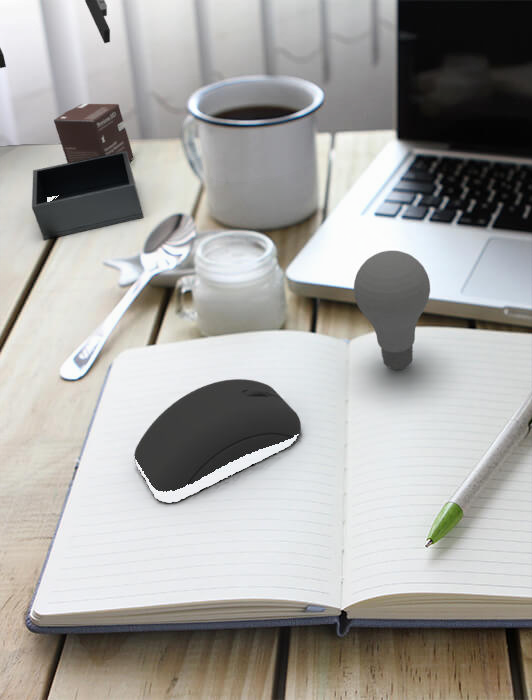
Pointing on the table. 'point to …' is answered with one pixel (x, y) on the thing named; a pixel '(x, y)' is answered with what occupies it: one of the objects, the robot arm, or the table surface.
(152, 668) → the table surface
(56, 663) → the table surface
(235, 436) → the computer mouse
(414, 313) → the light bulb
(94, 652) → the table surface
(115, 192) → the dark grey open tray
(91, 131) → the box
